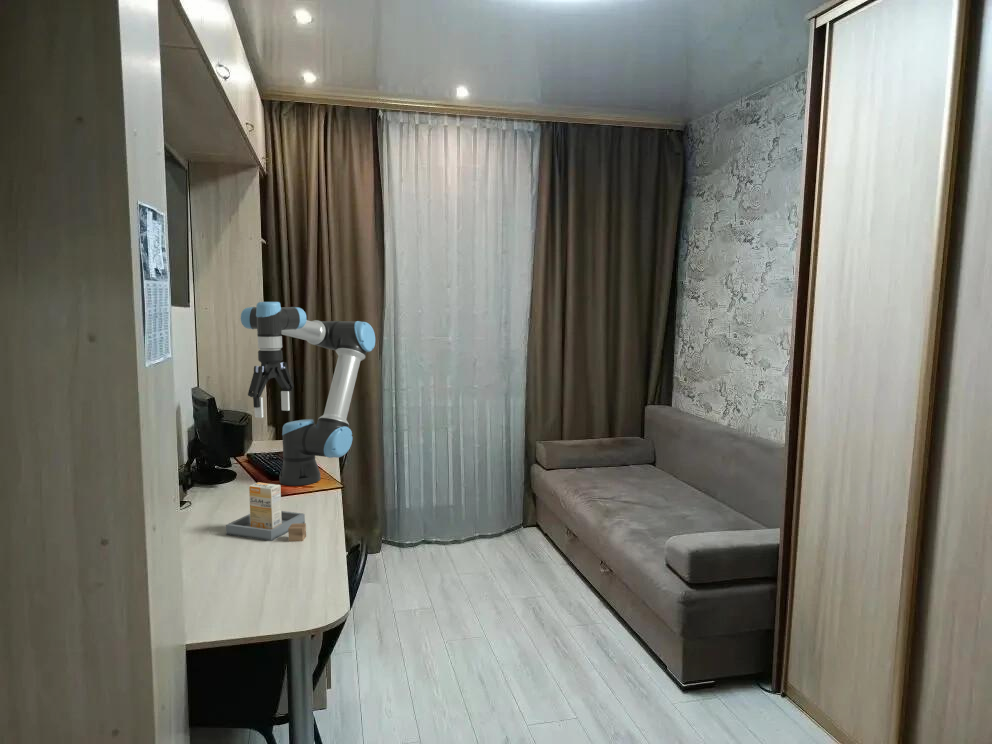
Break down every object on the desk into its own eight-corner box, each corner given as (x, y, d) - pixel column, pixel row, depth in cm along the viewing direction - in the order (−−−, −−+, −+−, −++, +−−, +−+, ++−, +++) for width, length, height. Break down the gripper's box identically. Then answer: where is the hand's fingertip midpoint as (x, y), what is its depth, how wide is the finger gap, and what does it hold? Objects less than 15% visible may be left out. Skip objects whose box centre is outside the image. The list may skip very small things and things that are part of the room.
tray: (261, 517, 209) (261, 508, 209) (304, 523, 204) (304, 513, 204) (226, 534, 194) (225, 524, 194) (271, 541, 189) (271, 531, 189)
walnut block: (292, 536, 193) (292, 523, 193) (306, 536, 193) (305, 523, 193) (288, 541, 189) (288, 528, 189) (302, 541, 189) (302, 528, 189)
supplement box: (249, 528, 198) (247, 485, 197) (260, 522, 203) (258, 481, 201) (272, 531, 196) (270, 488, 194) (282, 525, 200) (281, 484, 199)
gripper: (284, 346, 226) (286, 407, 229) (233, 352, 203) (237, 419, 205) (302, 346, 224) (305, 408, 226) (254, 352, 200) (257, 421, 203)
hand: (272, 413), depth 216 cm, fingers open, 13 cm apart
